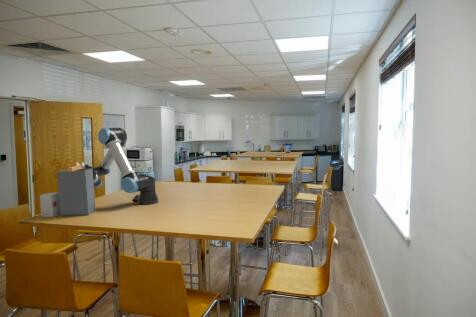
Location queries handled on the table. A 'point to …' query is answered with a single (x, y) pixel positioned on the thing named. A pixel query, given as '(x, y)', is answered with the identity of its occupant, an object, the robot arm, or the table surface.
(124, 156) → the robot arm
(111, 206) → the table surface
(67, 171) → the lid strip
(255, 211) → the table surface
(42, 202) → the supplement box
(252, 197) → the table surface
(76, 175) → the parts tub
